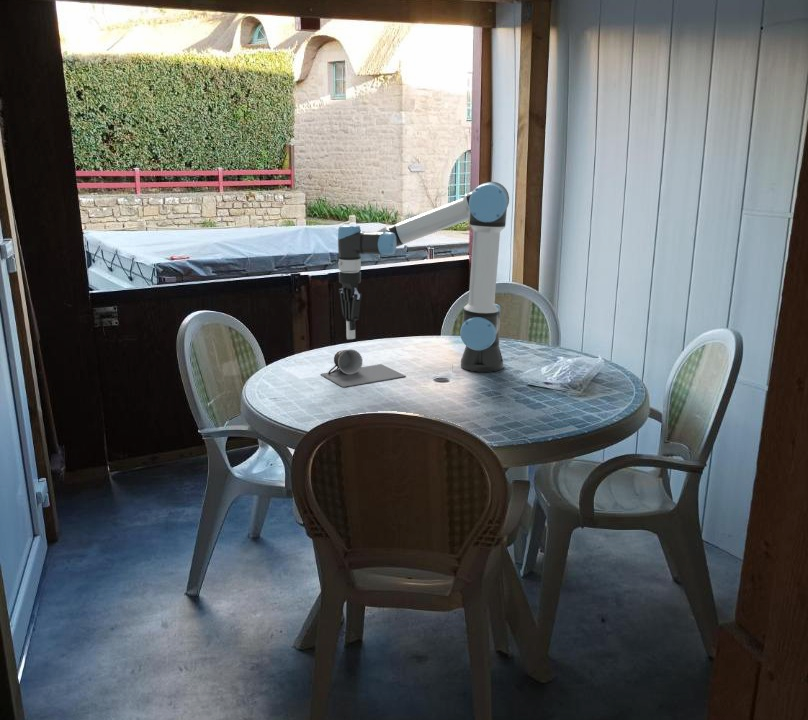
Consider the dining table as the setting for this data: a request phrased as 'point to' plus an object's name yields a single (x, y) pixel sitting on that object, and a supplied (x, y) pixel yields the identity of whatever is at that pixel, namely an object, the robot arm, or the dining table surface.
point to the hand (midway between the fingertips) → (350, 338)
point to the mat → (363, 375)
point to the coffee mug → (347, 361)
